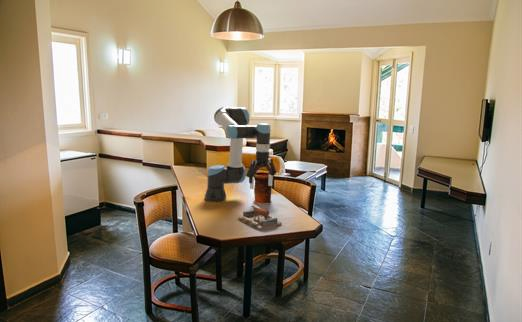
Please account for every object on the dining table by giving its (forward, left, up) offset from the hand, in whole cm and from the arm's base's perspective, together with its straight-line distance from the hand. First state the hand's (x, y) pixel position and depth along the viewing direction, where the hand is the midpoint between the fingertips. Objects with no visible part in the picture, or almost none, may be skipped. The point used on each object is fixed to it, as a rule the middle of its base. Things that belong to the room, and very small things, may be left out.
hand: (261, 187), depth 209 cm
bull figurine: (0, 0, -20) cm, 20 cm away
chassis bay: (0, 0, -21) cm, 21 cm away
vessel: (-32, +27, -21) cm, 47 cm away
